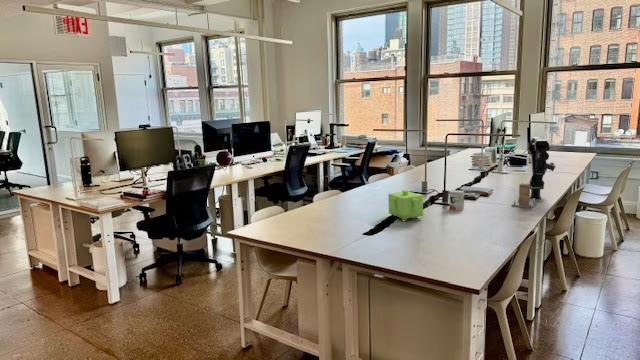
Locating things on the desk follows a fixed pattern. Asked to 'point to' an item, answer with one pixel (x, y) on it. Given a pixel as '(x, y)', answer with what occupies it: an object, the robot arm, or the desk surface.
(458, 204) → the ink box
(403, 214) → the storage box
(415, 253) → the desk surface
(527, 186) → the walnut block
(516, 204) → the peg plate
